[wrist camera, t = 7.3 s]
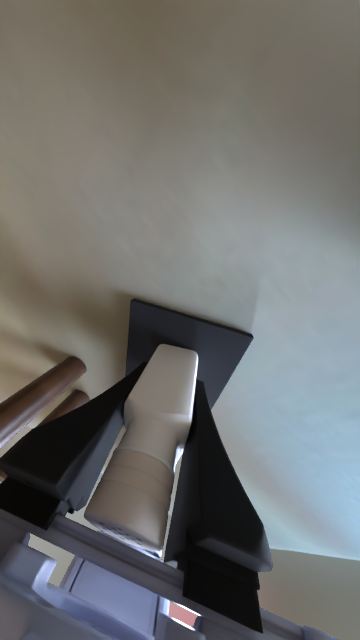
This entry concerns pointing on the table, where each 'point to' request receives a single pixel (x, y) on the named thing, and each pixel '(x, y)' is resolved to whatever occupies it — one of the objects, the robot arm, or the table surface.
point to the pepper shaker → (147, 452)
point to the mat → (186, 343)
